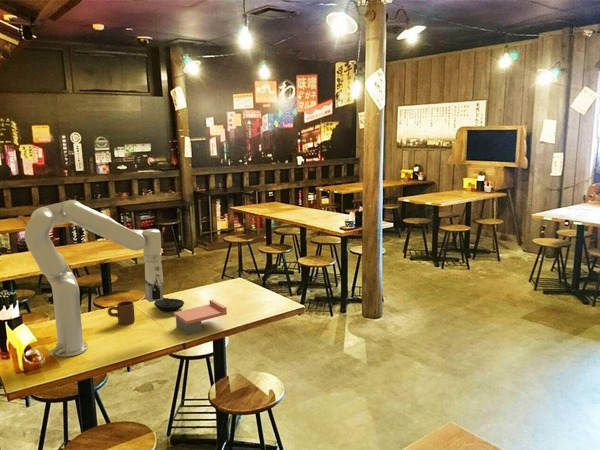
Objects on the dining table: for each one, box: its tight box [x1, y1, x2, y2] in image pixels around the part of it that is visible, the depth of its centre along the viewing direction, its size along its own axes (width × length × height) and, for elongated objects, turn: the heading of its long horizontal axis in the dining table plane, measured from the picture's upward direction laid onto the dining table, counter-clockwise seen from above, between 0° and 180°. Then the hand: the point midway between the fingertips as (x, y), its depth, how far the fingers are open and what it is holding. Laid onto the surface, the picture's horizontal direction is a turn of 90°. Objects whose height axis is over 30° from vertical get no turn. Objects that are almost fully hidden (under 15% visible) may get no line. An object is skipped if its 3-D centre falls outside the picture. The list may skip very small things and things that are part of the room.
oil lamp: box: [153, 296, 185, 314], centre depth 254 cm, size 15×20×5 cm
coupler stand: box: [173, 299, 228, 336], centre depth 231 cm, size 20×14×9 cm
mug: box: [107, 300, 136, 326], centre depth 235 cm, size 12×8×9 cm, turn 125°
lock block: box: [144, 282, 164, 303], centre depth 219 cm, size 6×5×7 cm
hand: (154, 297), depth 220 cm, fingers closed on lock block, 5 cm apart
